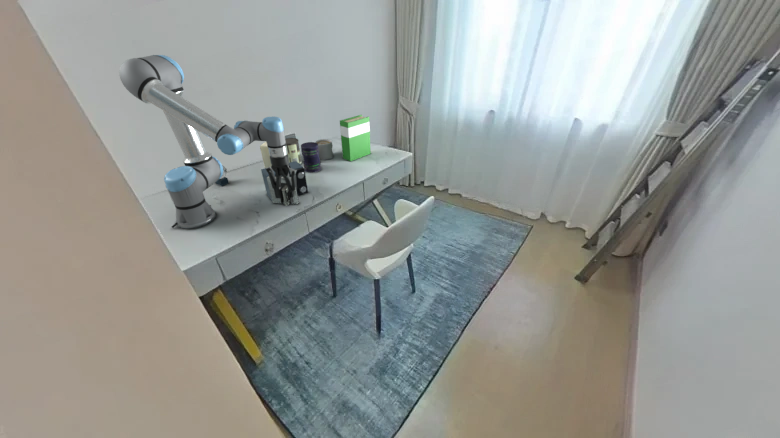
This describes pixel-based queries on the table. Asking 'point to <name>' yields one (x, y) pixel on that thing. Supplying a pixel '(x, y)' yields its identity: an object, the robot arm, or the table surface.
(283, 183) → the microwave door
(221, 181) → the watch
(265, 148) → the toy refrigerator
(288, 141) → the coffee can
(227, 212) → the table surface
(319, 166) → the storage jar
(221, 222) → the table surface
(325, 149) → the coffee mug
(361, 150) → the hardback book
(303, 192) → the microwave
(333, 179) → the table surface
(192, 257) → the table surface
